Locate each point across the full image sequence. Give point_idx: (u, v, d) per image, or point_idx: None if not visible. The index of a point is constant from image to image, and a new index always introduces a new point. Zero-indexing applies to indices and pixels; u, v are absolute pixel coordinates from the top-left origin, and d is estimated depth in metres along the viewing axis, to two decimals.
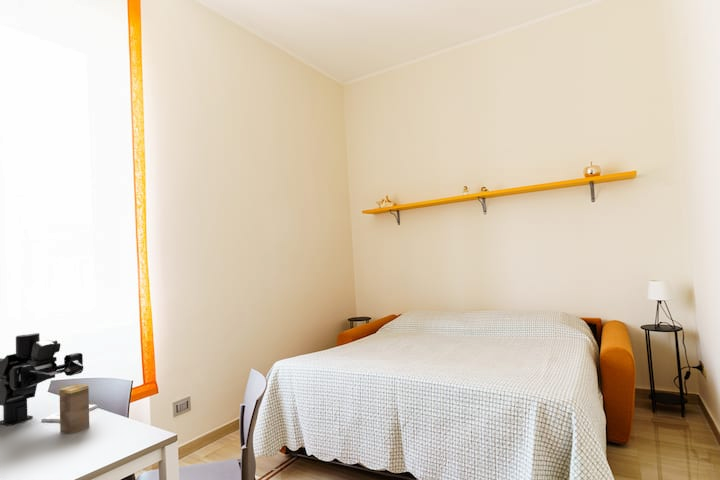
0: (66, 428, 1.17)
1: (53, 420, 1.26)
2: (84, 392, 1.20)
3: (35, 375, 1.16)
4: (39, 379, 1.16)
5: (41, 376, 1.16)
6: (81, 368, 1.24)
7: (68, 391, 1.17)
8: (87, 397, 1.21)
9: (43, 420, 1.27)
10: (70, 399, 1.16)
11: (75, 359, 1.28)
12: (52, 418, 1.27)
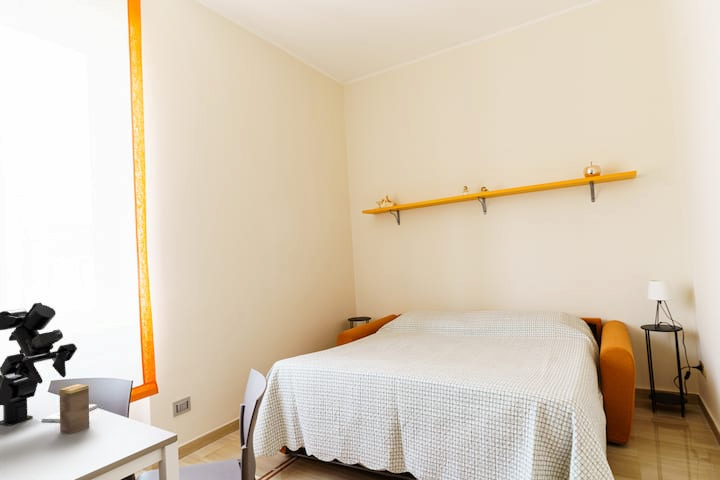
0: (66, 428, 1.17)
1: (53, 420, 1.26)
2: (84, 392, 1.20)
3: (30, 371, 1.21)
4: (32, 378, 1.21)
5: (35, 377, 1.21)
6: (63, 376, 1.27)
7: (68, 391, 1.17)
8: (87, 397, 1.21)
9: (43, 420, 1.27)
10: (70, 399, 1.16)
11: (63, 357, 1.29)
12: (52, 418, 1.27)
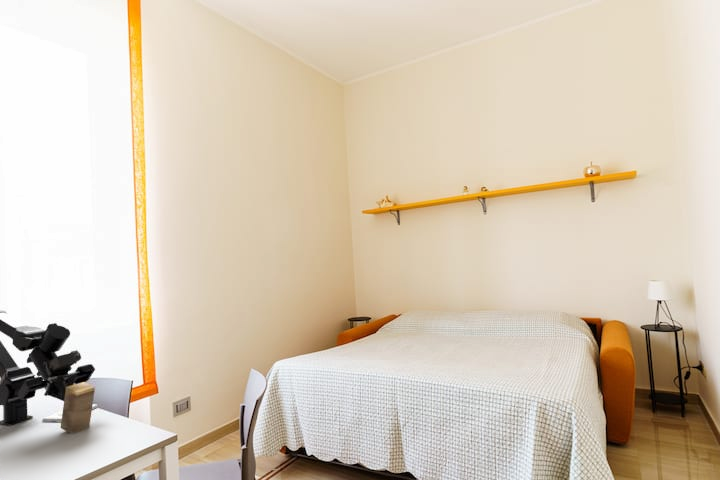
0: (67, 427, 1.17)
1: (54, 420, 1.26)
2: (90, 394, 1.19)
3: (60, 392, 1.20)
4: (62, 398, 1.20)
5: None
6: None
7: (74, 392, 1.16)
8: (92, 398, 1.20)
9: (44, 420, 1.27)
10: (75, 401, 1.16)
11: (71, 382, 1.23)
12: (53, 418, 1.27)
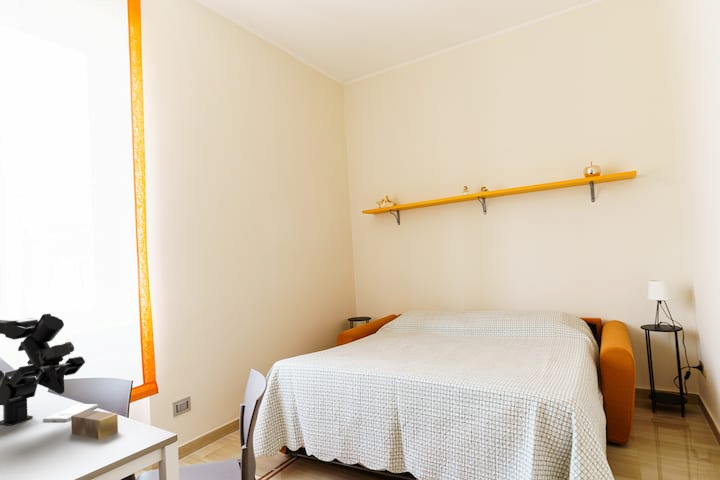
0: (74, 426, 1.16)
1: (55, 419, 1.27)
2: None
3: (51, 382, 1.22)
4: (52, 388, 1.22)
5: (55, 387, 1.22)
6: None
7: (99, 435, 1.11)
8: None
9: (45, 420, 1.27)
10: (94, 437, 1.12)
11: (62, 372, 1.25)
12: (54, 418, 1.27)
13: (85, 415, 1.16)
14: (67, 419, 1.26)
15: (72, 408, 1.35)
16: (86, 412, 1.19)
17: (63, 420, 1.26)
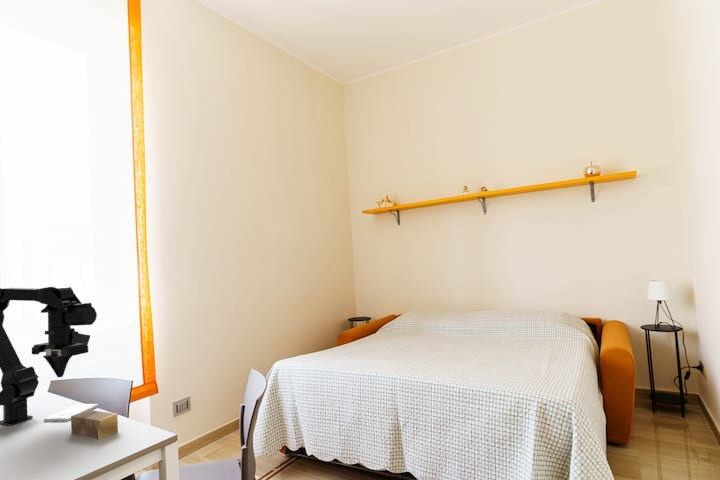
0: (74, 426, 1.15)
1: (56, 419, 1.27)
2: None
3: (63, 363, 1.29)
4: (59, 368, 1.28)
5: (62, 370, 1.28)
6: None
7: (99, 435, 1.11)
8: None
9: (45, 420, 1.27)
10: (94, 437, 1.12)
11: None
12: (55, 418, 1.27)
13: (85, 415, 1.16)
14: (68, 419, 1.27)
15: (72, 408, 1.35)
16: (86, 412, 1.19)
17: (64, 420, 1.26)
